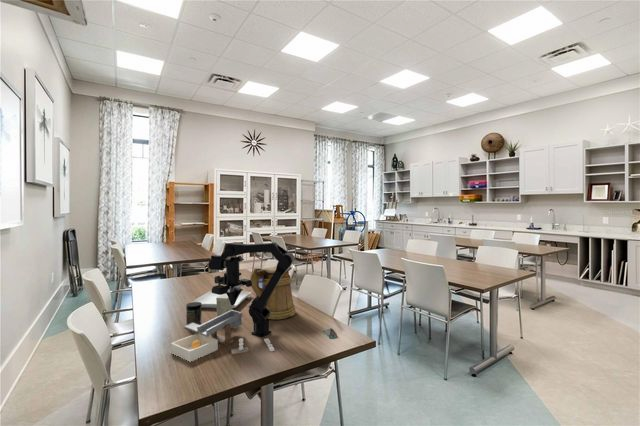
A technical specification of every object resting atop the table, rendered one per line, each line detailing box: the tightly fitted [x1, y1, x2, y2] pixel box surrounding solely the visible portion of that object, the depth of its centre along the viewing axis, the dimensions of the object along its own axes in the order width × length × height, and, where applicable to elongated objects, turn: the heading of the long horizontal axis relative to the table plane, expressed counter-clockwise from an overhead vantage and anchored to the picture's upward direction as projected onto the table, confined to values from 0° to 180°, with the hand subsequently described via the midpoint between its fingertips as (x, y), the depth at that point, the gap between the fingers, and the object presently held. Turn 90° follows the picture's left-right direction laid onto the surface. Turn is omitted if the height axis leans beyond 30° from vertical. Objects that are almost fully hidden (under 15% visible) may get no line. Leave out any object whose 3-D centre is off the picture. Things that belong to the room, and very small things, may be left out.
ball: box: [192, 340, 201, 349], centre depth 123 cm, size 4×4×4 cm
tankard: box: [249, 266, 297, 321], centre depth 164 cm, size 18×24×25 cm
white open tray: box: [170, 333, 219, 363], centre depth 123 cm, size 12×12×4 cm
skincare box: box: [216, 296, 233, 317], centre depth 154 cm, size 6×4×12 cm
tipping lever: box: [183, 309, 243, 337], centre depth 136 cm, size 18×16×6 cm
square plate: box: [192, 290, 252, 309], centre depth 184 cm, size 27×27×4 cm
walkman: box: [255, 278, 264, 297], centre depth 198 cm, size 8×3×12 cm, turn 113°
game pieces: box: [230, 327, 338, 356], centre depth 133 cm, size 45×13×6 cm, turn 113°
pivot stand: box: [209, 324, 234, 346], centre depth 133 cm, size 4×11×8 cm, turn 56°
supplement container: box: [185, 301, 203, 326], centre depth 148 cm, size 7×7×10 cm
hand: (232, 305), depth 142 cm, fingers closed
